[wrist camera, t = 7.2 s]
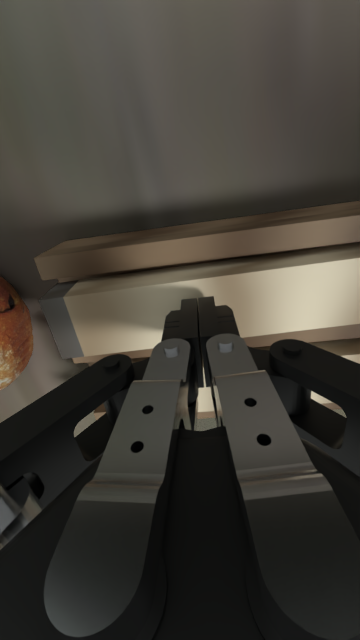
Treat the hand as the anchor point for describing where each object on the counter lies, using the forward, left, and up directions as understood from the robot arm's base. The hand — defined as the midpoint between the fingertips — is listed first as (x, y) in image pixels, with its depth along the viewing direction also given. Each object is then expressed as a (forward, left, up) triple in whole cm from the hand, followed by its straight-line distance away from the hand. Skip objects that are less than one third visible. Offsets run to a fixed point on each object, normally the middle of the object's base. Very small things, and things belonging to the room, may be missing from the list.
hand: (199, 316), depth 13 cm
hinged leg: (-2, 0, -3) cm, 4 cm away
